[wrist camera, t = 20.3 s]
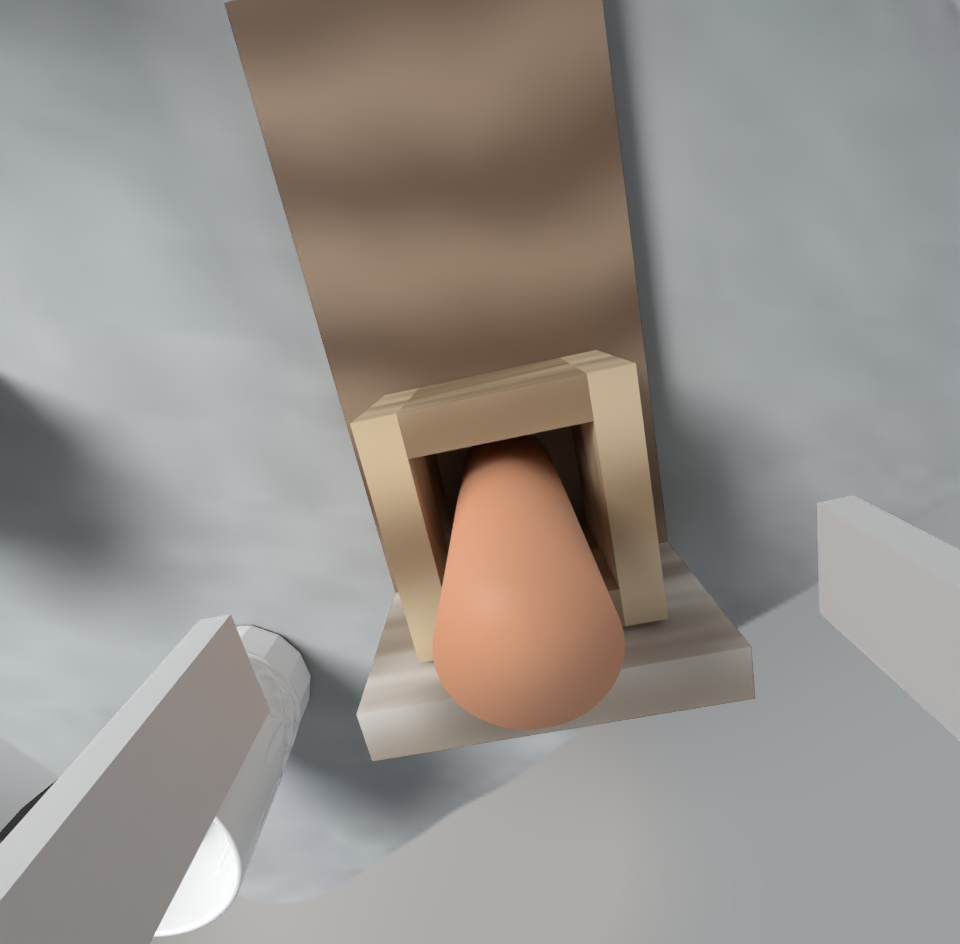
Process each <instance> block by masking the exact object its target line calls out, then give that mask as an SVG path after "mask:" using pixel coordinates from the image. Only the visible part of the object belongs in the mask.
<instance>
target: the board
mask: <svg viewBox="0 0 960 944" xmlns="http://www.w3.org/2000/svg"><path fill="white" fill-rule="evenodd" d="M224 4H225V7H226V10H227V14H228V17H229V21H230V24H231V28H232V31H233V35H234V38H235V41H236V45H237V48H238V52H239V55H240V59H241V62H242V66H243V69H244V72H245V76H246V79H247V83H248V86H249V90H250V93H251V97H252V100H253V103H254V107H255V110H256V114H257V117H258V121H259V124H260V128H261V131H262V134H263V138H264V141H265V145H266V148H267V152H268V155H269V159H270V162H271V165H272V169H273V172H274V176H275V179H276V183H277V186H278V190H279V193H280V196H281V200H282V203H283V207H284V210H285V214H286V217H287V221H288V224H289V227H290V231H291V234H292V238H293V241H294V245H295V248H296V252H297V255H298V258H299V262H300V265H301V269H302V272H303V276H304V279H305V283H306V286H307V289H308V293H309V296H310V300H311V303H312V307H313V310H314V314H315V317H316V320H317V324H318V327H319V331H320V334H321V338H322V341H323V345H324V348H325V351H326V355H327V358H328V362H329V365H330V369H331V372H332V376H333V379H334V383H335V386H336V389H337V393H338V396H339V400H340V403H341V407H342V410H343V414H344V417H345V420H346V424H347V427H348V431H349V434H350V438H351V441H352V445H353V448H354V451H355V455H356V458H357V462H358V465H359V469H360V472H361V476H362V479H363V482H364V486H365V489H366V493H367V496H368V500H369V503H370V507H371V510H372V513H373V517H374V520H375V524H376V527H377V531H378V534H379V538H380V541H381V544H382V548H383V551H384V555H385V558H386V562H387V565H388V569H389V572H390V575H391V579H392V582H393V586H394V589H395V596H394V599H393V602H392V605H391V608H390V611H389V614H388V618H387V621H386V624H385V627H384V630H383V633H382V636H381V639H380V642H379V646H378V649H377V652H376V655H375V658H374V661H373V664H372V667H371V670H370V673H369V677H368V680H367V683H366V686H365V689H364V692H363V695H362V698H361V701H360V705H359V708H358V711H357V714H356V715H357V718H358V721H359V724H360V727H361V730H362V733H363V736H364V739H365V742H366V745H367V748H368V751H369V753H370V756H371V759H372V761H378V760H384V759H390V758H396V757H402V756H408V755H415V754H421V753H427V752H433V751H439V750H445V749H451V748H457V747H463V746H469V745H475V744H481V743H488V742H494V741H500V740H506V739H512V738H518V737H524V736H530V735H536V734H542V733H548V732H554V731H561V730H567V729H573V728H579V727H585V726H591V725H597V724H603V723H609V722H615V721H621V720H627V719H633V718H640V717H646V716H652V715H657V714H664V713H670V712H675V711H682V710H688V709H694V708H700V707H706V706H712V705H719V704H725V703H731V702H736V701H743V700H748V699H755V689H754V675H753V662H752V649H751V646H750V645H749V643H748V642H747V641H746V640H745V638H744V637H743V636H742V635H741V633H740V632H739V631H738V630H737V628H736V627H735V626H734V624H733V623H732V622H731V621H730V619H729V618H728V617H727V616H726V614H725V613H724V612H723V611H722V609H721V608H720V607H719V606H718V604H717V603H716V602H715V601H714V599H713V598H712V597H711V596H710V594H709V593H708V592H707V591H706V589H705V588H704V587H703V586H702V584H701V583H700V582H699V581H698V579H697V578H696V577H695V576H694V574H693V573H692V572H691V571H690V569H689V568H688V567H687V566H686V564H685V563H684V562H683V560H682V559H681V558H680V557H679V555H678V554H677V553H676V552H675V550H674V549H673V548H672V547H671V545H670V544H669V543H668V541H667V532H666V524H665V516H664V507H663V499H662V491H661V483H660V474H659V466H658V458H657V449H656V441H655V433H654V425H653V416H652V408H651V400H650V391H649V383H648V375H647V367H646V358H645V350H644V342H643V333H642V325H641V317H640V308H639V300H638V292H637V284H636V275H635V267H634V259H633V250H632V242H631V234H630V226H629V217H628V209H627V201H626V192H625V184H624V176H623V167H622V159H621V151H620V143H619V134H618V126H617V118H616V109H615V101H614V93H613V85H612V76H611V68H610V60H609V51H608V43H607V35H606V26H605V18H604V10H603V2H602V0H234V1H231V2H227V3H224ZM593 350H598V351H601V352H604V353H607V354H610V355H613V356H616V357H619V358H622V359H625V360H628V361H631V362H634V363H636V368H637V376H638V384H639V392H640V400H641V408H642V416H643V424H644V432H645V439H646V447H647V455H648V463H649V471H650V479H651V487H652V495H653V503H654V511H655V519H656V527H657V535H658V543H659V551H660V558H661V566H662V574H663V582H664V590H665V598H666V606H667V614H668V619H664V620H659V621H653V622H647V623H642V624H636V625H630V626H625V627H623V631H624V638H625V655H624V660H623V665H622V668H621V671H620V674H619V676H618V678H617V680H616V682H615V684H614V685H613V687H612V688H611V690H610V691H609V693H608V694H607V695H606V696H605V697H604V698H603V699H602V700H601V702H599V703H598V704H597V705H596V706H595V707H594V708H592V709H591V710H590V711H588V712H587V713H585V714H584V715H582V716H580V717H578V718H576V719H574V720H572V721H570V722H567V723H564V724H562V725H558V726H554V727H550V728H544V729H536V730H520V729H511V728H505V727H501V726H497V725H494V724H491V723H488V722H486V721H483V720H481V719H479V718H477V717H476V716H474V715H472V714H470V713H469V712H467V711H466V710H465V709H463V708H462V707H461V706H460V705H459V704H458V703H457V702H456V701H454V700H453V699H452V697H451V696H450V695H449V694H448V692H447V691H446V690H445V688H444V686H443V685H442V683H441V681H440V679H439V677H438V674H437V672H436V668H435V665H434V661H433V660H432V661H427V662H421V663H419V661H418V658H417V654H416V651H415V648H414V644H413V641H412V637H411V634H410V630H409V627H408V623H407V620H406V616H405V613H404V609H403V606H402V602H401V599H400V596H399V592H398V589H397V585H396V582H395V578H394V575H393V571H392V568H391V564H390V561H389V557H388V554H387V550H386V547H385V543H384V540H383V537H382V533H381V530H380V526H379V523H378V519H377V516H376V512H375V509H374V505H373V502H372V498H371V495H370V491H369V488H368V485H367V481H366V478H365V474H364V471H363V467H362V464H361V460H360V457H359V453H358V450H357V446H356V443H355V439H354V436H353V433H352V429H351V426H350V423H351V422H353V421H354V420H355V419H356V418H357V417H359V416H360V415H361V414H362V413H364V412H365V411H366V410H367V409H369V408H370V407H371V406H372V405H373V404H375V403H376V402H377V401H378V400H380V399H381V398H382V397H383V396H384V395H388V394H393V393H397V392H402V391H407V390H411V389H416V388H421V387H425V386H430V385H435V384H439V383H444V382H449V381H453V380H458V379H463V378H467V377H472V376H477V375H481V374H486V373H491V372H495V371H500V370H505V369H509V368H514V367H519V366H523V365H528V364H533V363H537V362H542V361H547V360H551V359H556V358H561V357H565V356H570V355H575V354H579V353H584V352H589V351H593ZM532 435H534V436H535V437H537V438H538V439H539V440H540V441H541V442H542V443H543V444H544V445H545V447H546V448H547V450H548V452H549V454H550V456H551V458H552V461H553V463H554V465H555V468H556V470H557V472H558V475H559V477H560V479H561V482H562V484H563V486H564V489H565V491H566V494H567V496H568V498H569V501H570V503H571V505H572V508H573V510H574V512H575V515H576V517H577V519H578V522H579V524H583V523H587V517H586V511H585V505H584V499H583V493H582V487H581V481H580V475H579V469H578V463H577V457H576V451H575V445H574V439H573V433H572V427H571V426H568V427H563V428H558V429H553V430H548V431H543V432H538V433H533V434H532ZM470 448H471V446H470V447H465V448H460V449H455V450H450V451H446V452H441V453H436V458H437V462H438V466H439V470H440V475H441V479H442V483H443V487H444V491H445V495H446V499H447V503H448V507H449V511H450V515H451V519H452V524H453V523H454V517H455V511H456V506H457V500H458V494H459V489H460V483H461V477H462V471H463V466H464V461H465V458H466V455H467V453H468V451H469V449H470Z"/></svg>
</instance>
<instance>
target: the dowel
mask: <svg viewBox="0 0 960 944" xmlns="http://www.w3.org/2000/svg"><path fill="white" fill-rule="evenodd" d="M432 651H433V661H434V665H435V668H436V672H437V674H438V677H439V679H440V681H441V683H442V685H443V686H444V688H445V690H446V691H447V692H448V694H449V695H450V696H451V697H452V699H453V700H454V701H456V702H457V703H458V704H459V705H460V706H461V707H462V708H463V709H465V710H466V711H467V712H469V713H470V714H472V715H474V716H476V717H477V718H479V719H481V720H483V721H486V722H488V723H491V724H494V725H497V726H501V727H505V728H511V729H520V730H536V729H544V728H550V727H554V726H558V725H562V724H564V723H567V722H570V721H572V720H574V719H576V718H578V717H580V716H582V715H584V714H585V713H587V712H588V711H590V710H591V709H592V708H594V707H595V706H596V705H597V704H598V703H599V702H601V700H602V699H603V698H604V697H605V696H606V695H607V694H608V693H609V691H610V690H611V688H612V687H613V685H614V684H615V682H616V680H617V678H618V676H619V674H620V671H621V668H622V665H623V660H624V655H625V638H624V631H623V627H622V624H621V621H620V618H619V616H618V613H617V611H616V609H615V606H614V604H613V602H612V599H611V597H610V595H609V592H608V590H607V588H606V585H605V583H604V581H603V578H602V576H601V574H600V571H599V569H598V566H597V564H596V562H595V559H594V557H593V555H592V552H591V550H590V548H589V545H588V543H587V541H586V538H585V536H584V534H583V531H582V529H581V526H580V524H579V522H578V519H577V517H576V515H575V512H574V510H573V508H572V505H571V503H570V501H569V498H568V496H567V494H566V491H565V489H564V486H563V484H562V482H561V479H560V477H559V475H558V472H557V470H556V468H555V465H554V463H553V461H552V458H551V456H550V454H549V452H548V450H547V448H546V447H545V445H544V444H543V443H542V442H541V441H540V440H539V439H538V438H537V437H535V436H534V435H532V434H529V435H524V436H519V437H514V438H509V439H504V440H499V441H494V442H490V443H485V444H480V445H475V446H471V448H470V449H469V451H468V453H467V455H466V458H465V461H464V466H463V471H462V477H461V483H460V489H459V494H458V500H457V506H456V511H455V517H454V523H453V528H452V534H451V540H450V545H449V551H448V557H447V562H446V568H445V574H444V579H443V585H442V591H441V596H440V602H439V608H438V613H437V619H436V625H435V630H434V636H433V648H432Z"/></svg>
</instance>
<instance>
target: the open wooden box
mask: <svg viewBox="0 0 960 944" xmlns="http://www.w3.org/2000/svg"><path fill="white" fill-rule="evenodd" d="M350 426H351V429H352V433H353V436H354V439H355V443H356V446H357V450H358V453H359V457H360V460H361V464H362V467H363V471H364V474H365V478H366V481H367V485H368V488H369V491H370V495H371V498H372V502H373V505H374V509H375V512H376V516H377V519H378V523H379V526H380V530H381V533H382V537H383V540H384V543H385V547H386V550H387V554H388V557H389V561H390V564H391V568H392V571H393V575H394V578H395V582H396V585H397V589H398V592H399V596H400V599H401V602H402V606H403V609H404V613H405V616H406V620H407V623H408V627H409V630H410V634H411V637H412V641H413V644H414V648H415V651H416V654H417V658H418V661H419V663H421V662H427V661H432V660H433V651H432V648H433V636H434V630H435V625H436V619H437V613H438V608H439V602H440V596H441V591H442V585H443V579H444V574H445V568H446V562H447V557H448V551H449V545H450V540H451V534H452V528H453V524H452V519H451V515H450V511H449V507H448V503H447V499H446V495H445V491H444V487H443V483H442V479H441V475H440V470H439V466H438V462H437V458H436V453H441V452H446V451H450V450H455V449H460V448H465V447H470V446H475V445H480V444H485V443H490V442H494V441H499V440H504V439H509V438H514V437H519V436H524V435H529V434H533V433H538V432H543V431H548V430H553V429H558V428H563V427H568V426H571V427H572V433H573V439H574V445H575V451H576V457H577V463H578V469H579V475H580V481H581V487H582V493H583V499H584V505H585V511H586V517H587V523H583V524H580V526H581V529H582V531H583V534H584V536H585V538H586V541H587V543H588V545H589V548H590V550H591V552H592V555H593V557H594V559H595V562H596V564H597V566H598V569H599V571H600V574H601V576H602V578H603V581H604V583H605V585H606V588H607V590H608V592H609V595H610V597H611V599H612V602H613V604H614V606H615V609H616V611H617V613H618V616H619V618H620V621H621V624H622V627H625V626H630V625H636V624H642V623H647V622H653V621H659V620H664V619H668V614H667V606H666V598H665V590H664V582H663V574H662V566H661V558H660V551H659V543H658V535H657V527H656V519H655V511H654V503H653V495H652V487H651V479H650V471H649V463H648V455H647V447H646V439H645V432H644V424H643V416H642V408H641V400H640V392H639V384H638V376H637V368H636V363H634V362H631V361H628V360H625V359H622V358H619V357H616V356H613V355H610V354H607V353H604V352H601V351H598V350H593V351H589V352H584V353H579V354H575V355H570V356H565V357H561V358H556V359H551V360H547V361H542V362H537V363H533V364H528V365H523V366H519V367H514V368H509V369H505V370H500V371H495V372H491V373H486V374H481V375H477V376H472V377H467V378H463V379H458V380H453V381H449V382H444V383H439V384H435V385H430V386H425V387H421V388H416V389H411V390H407V391H402V392H397V393H393V394H388V395H384V396H383V397H382V398H381V399H380V400H378V401H377V402H376V403H375V404H373V405H372V406H371V407H370V408H369V409H367V410H366V411H365V412H364V413H362V414H361V415H360V416H359V417H357V418H356V419H355V420H354V421H353V422H351V423H350Z"/></svg>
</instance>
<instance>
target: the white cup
mask: <svg viewBox="0 0 960 944" xmlns="http://www.w3.org/2000/svg"><path fill="white" fill-rule="evenodd" d="M236 628H237V631H238V633H239V636H240V638H241V641H242V643H243V645H244V648H245V650H246V653H247V655H248V658H249V660H250V663H251V665H252V667H253V670H254V672H255V675H256V677H257V680H258V682H259V685H260V687H261V689H262V692H263V694H264V697H265V699H266V702H267V704H268V706H269V709H270V712H269V714H268V716H267V718H266V720H265V722H264V723H263V725H262V727H261V729H260V731H259V733H258V735H257V737H256V739H255V741H254V743H253V745H252V747H251V749H250V751H249V752H248V754H247V756H246V758H245V760H244V762H243V764H242V766H241V768H240V770H239V772H238V774H237V776H236V778H235V780H234V782H233V783H232V785H231V787H230V789H229V791H228V793H227V795H226V797H225V799H224V801H223V803H222V805H221V807H220V809H219V811H218V812H217V814H216V816H215V818H214V820H213V822H212V824H211V826H210V828H209V830H208V832H207V834H206V836H205V838H204V840H203V841H202V843H201V845H200V847H199V849H198V851H197V853H196V855H195V857H194V859H193V861H192V863H191V865H190V867H189V869H188V870H187V872H186V874H185V876H184V878H183V880H182V882H181V884H180V886H179V888H178V890H177V892H176V894H175V896H174V898H173V899H172V901H171V903H170V905H169V907H168V909H167V911H166V913H165V915H164V917H163V919H162V921H161V923H160V925H159V927H158V928H157V930H156V932H155V934H154V936H153V937H161V936H172V935H177V934H183V933H186V932H190V931H193V930H196V929H199V928H201V927H203V926H205V925H207V924H209V923H211V922H212V921H214V920H215V919H217V918H218V917H219V916H221V915H222V914H223V913H224V912H225V911H226V910H227V909H228V908H229V907H230V905H231V904H232V903H233V901H234V900H235V898H236V896H237V894H238V892H239V889H240V887H241V884H242V881H243V879H244V876H245V873H246V871H247V868H248V865H249V863H250V860H251V857H252V855H253V852H254V850H255V847H256V844H257V842H258V839H259V836H260V834H261V831H262V829H263V826H264V823H265V821H266V818H267V816H268V813H269V811H270V808H271V805H272V803H273V800H274V798H275V795H276V792H277V790H278V787H279V785H280V782H281V779H282V776H283V773H284V770H285V766H286V763H287V761H288V758H289V756H290V753H291V751H292V748H293V745H294V742H295V738H296V735H297V731H298V727H299V724H300V722H301V719H302V717H303V714H304V712H305V709H306V707H307V704H308V702H309V695H310V682H311V675H310V673H309V671H308V669H307V666H306V664H305V662H304V660H303V658H302V656H301V654H300V652H299V651H297V650H296V649H295V648H294V647H293V646H292V645H291V644H289V643H288V642H287V641H286V640H285V639H283V638H282V637H281V636H280V635H278V634H275V633H272V632H270V631H267V630H264V629H261V628H258V627H255V626H252V625H248V626H236Z"/></svg>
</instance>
